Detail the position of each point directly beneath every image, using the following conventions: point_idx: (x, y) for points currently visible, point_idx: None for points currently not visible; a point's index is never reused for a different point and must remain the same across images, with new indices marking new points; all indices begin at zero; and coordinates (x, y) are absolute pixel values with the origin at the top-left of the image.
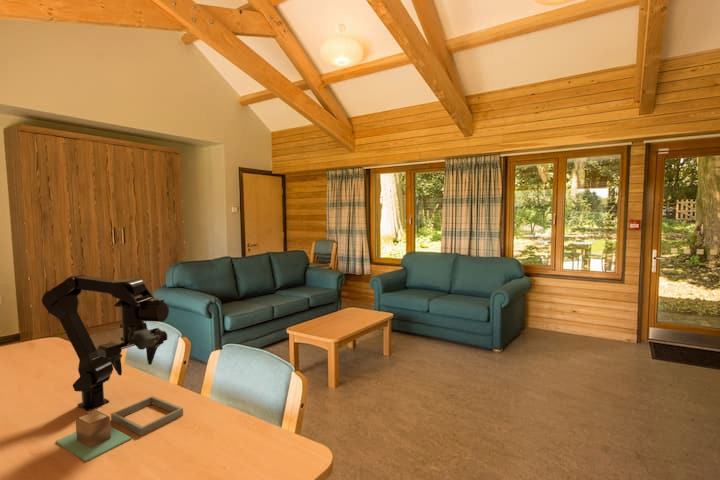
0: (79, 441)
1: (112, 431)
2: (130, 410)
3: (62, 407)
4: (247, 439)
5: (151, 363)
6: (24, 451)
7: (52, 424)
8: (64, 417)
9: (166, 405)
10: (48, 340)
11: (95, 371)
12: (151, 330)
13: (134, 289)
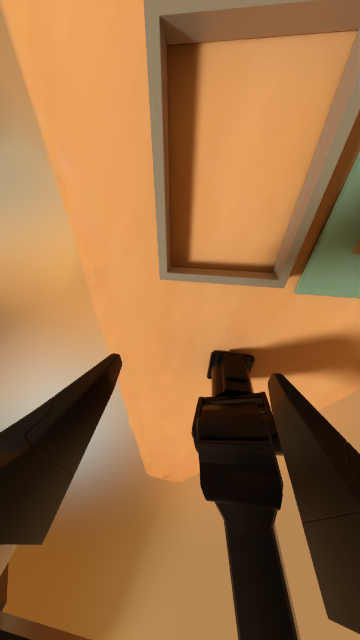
0: None
1: (354, 198)
2: (231, 272)
3: (254, 392)
4: None
5: (110, 356)
6: None
7: (312, 365)
8: (283, 368)
9: (165, 173)
10: (152, 474)
11: (270, 445)
12: None
13: None
